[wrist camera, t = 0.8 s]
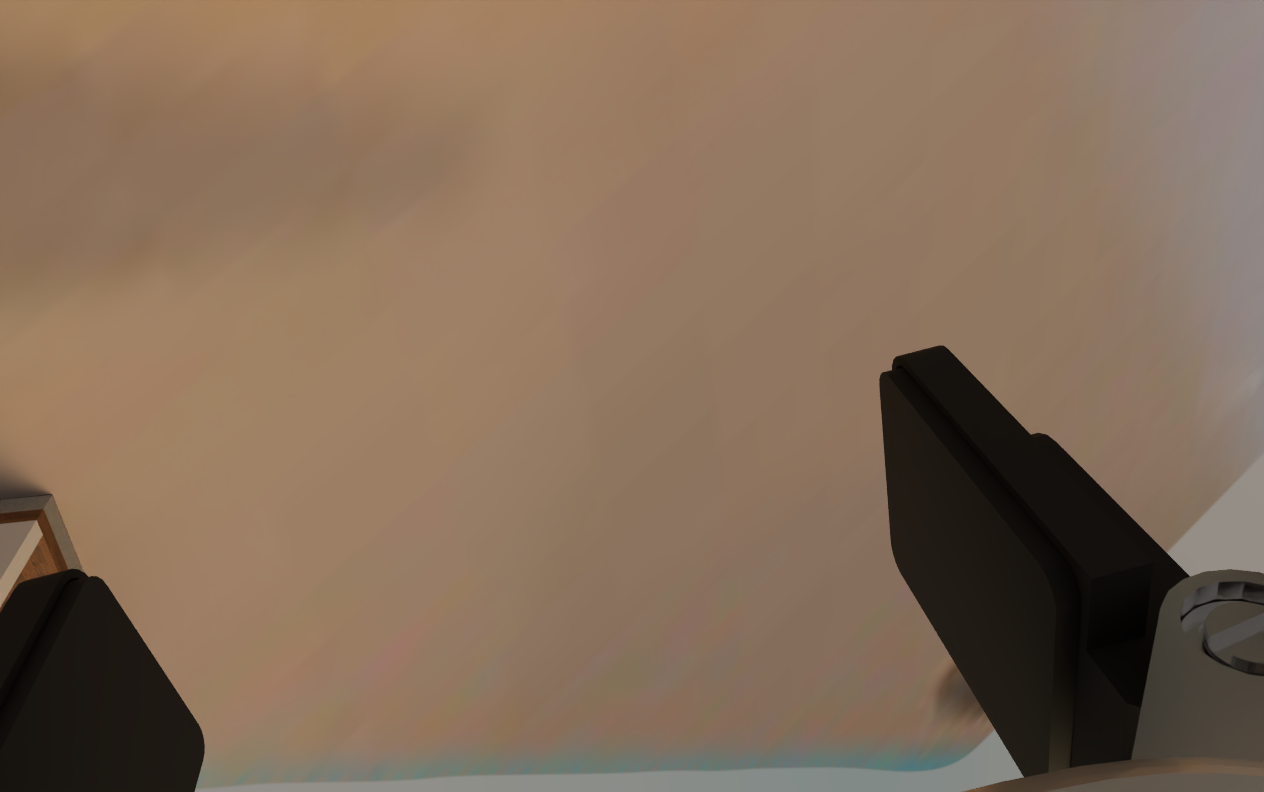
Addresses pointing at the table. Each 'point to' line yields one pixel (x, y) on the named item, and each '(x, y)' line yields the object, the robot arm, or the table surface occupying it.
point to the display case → (32, 542)
